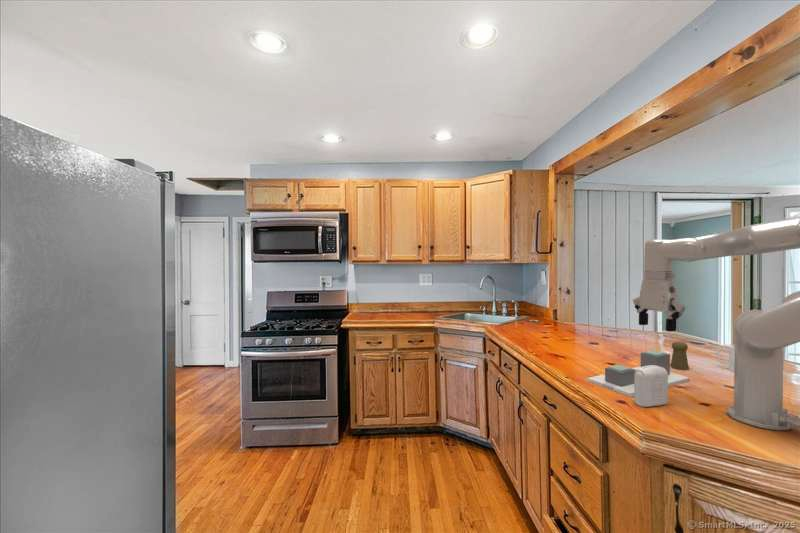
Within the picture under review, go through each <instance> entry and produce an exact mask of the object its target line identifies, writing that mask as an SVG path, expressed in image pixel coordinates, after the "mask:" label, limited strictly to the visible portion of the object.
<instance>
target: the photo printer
mask: <svg viewBox="0 0 800 533" xmlns="http://www.w3.org/2000/svg"><path fill="white" fill-rule="evenodd" d="M668 393H669V389H668V373H667V371H666V369H665V368H663V367H659V366H655V365H648V366H643V367H641V368H638V369H637V370H636V371H635V376H634V396H633V400H634V403H635V405H637V406H639V407H642V408H643V407H646V408H647V407H655V406H664V405H665V406H666V405H667V404H668V403H669V402H668V396H669V395H668Z"/></svg>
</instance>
